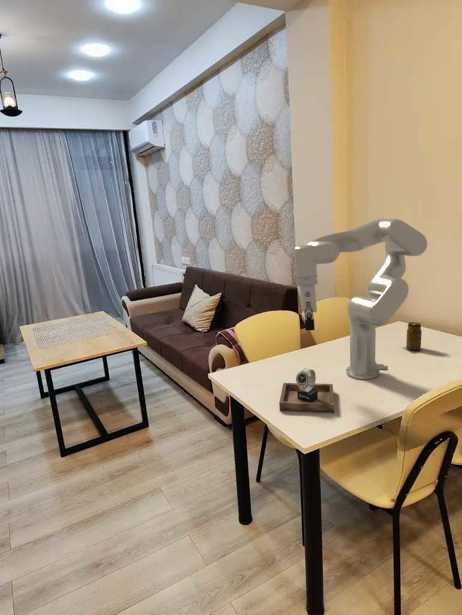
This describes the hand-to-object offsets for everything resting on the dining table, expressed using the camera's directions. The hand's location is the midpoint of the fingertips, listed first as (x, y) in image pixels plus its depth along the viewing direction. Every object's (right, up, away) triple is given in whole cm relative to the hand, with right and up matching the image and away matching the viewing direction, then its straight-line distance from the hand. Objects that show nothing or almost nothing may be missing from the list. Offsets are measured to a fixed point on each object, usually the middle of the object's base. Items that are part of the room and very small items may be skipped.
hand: (309, 325), depth 149 cm
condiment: (+54, -12, +35) cm, 66 cm away
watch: (-2, -26, -5) cm, 26 cm away
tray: (-2, -26, -5) cm, 27 cm away
